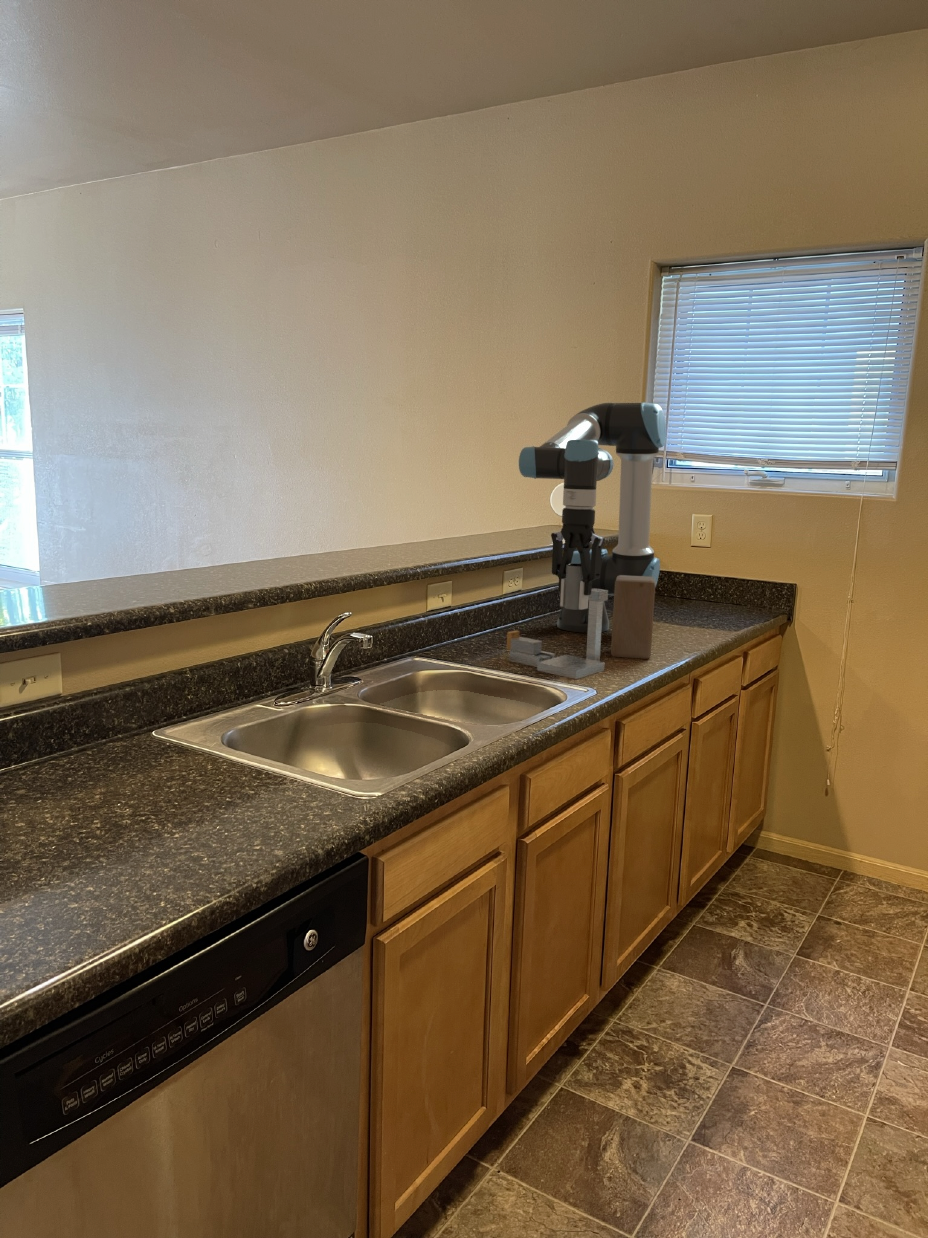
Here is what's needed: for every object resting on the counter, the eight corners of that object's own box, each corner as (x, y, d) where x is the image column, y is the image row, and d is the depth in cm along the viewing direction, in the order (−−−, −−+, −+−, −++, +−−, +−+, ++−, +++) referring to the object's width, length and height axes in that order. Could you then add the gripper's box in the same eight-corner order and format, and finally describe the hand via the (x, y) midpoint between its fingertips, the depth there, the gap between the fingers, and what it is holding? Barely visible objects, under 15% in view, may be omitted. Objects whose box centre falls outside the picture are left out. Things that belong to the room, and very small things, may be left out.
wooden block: (650, 660, 231) (655, 581, 227) (610, 657, 233) (614, 579, 229) (650, 651, 241) (655, 576, 237) (612, 649, 242) (616, 574, 239)
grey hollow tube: (567, 605, 218) (569, 562, 216) (586, 607, 216) (588, 564, 214) (562, 608, 214) (564, 565, 212) (580, 610, 212) (583, 566, 210)
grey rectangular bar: (515, 647, 230) (515, 630, 229) (541, 653, 225) (542, 635, 224) (506, 649, 228) (507, 632, 227) (533, 655, 223) (533, 637, 222)
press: (544, 652, 237) (547, 581, 233) (616, 666, 223) (620, 592, 220) (502, 662, 224) (505, 588, 220) (576, 679, 210) (580, 600, 206)
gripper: (538, 505, 213) (534, 604, 218) (602, 510, 202) (597, 614, 207) (556, 504, 219) (552, 600, 223) (620, 509, 208) (614, 610, 212)
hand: (573, 607), depth 215 cm, fingers closed on grey hollow tube, 4 cm apart
